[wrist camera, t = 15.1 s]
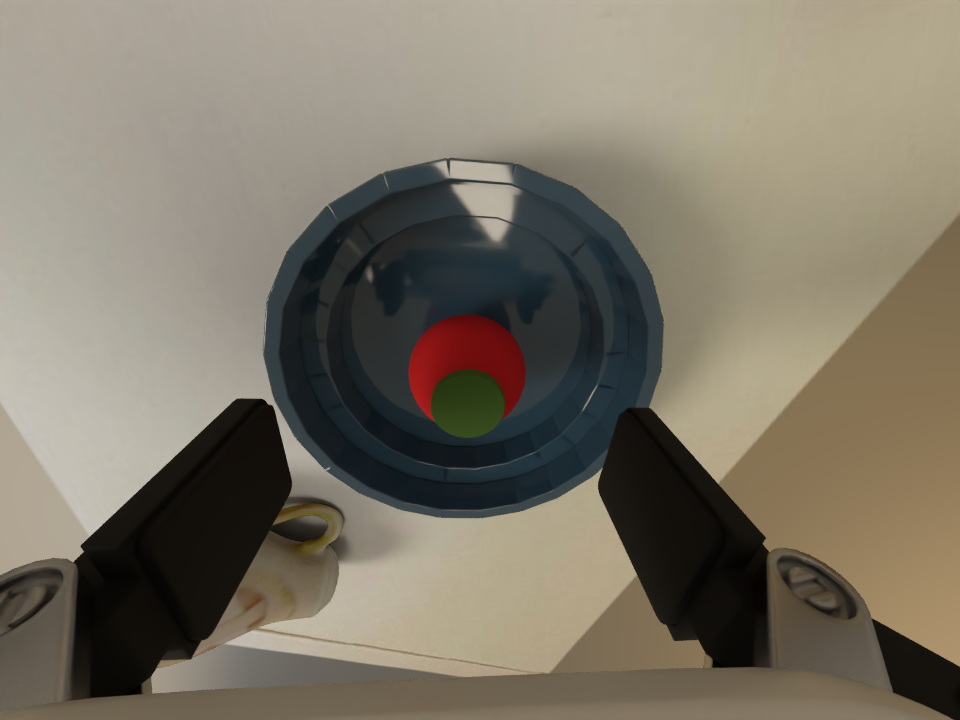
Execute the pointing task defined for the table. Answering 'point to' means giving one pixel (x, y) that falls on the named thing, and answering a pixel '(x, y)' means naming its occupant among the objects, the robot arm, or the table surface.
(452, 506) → the bowl
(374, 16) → the table surface
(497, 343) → the tomato
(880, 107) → the table surface
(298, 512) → the mug
